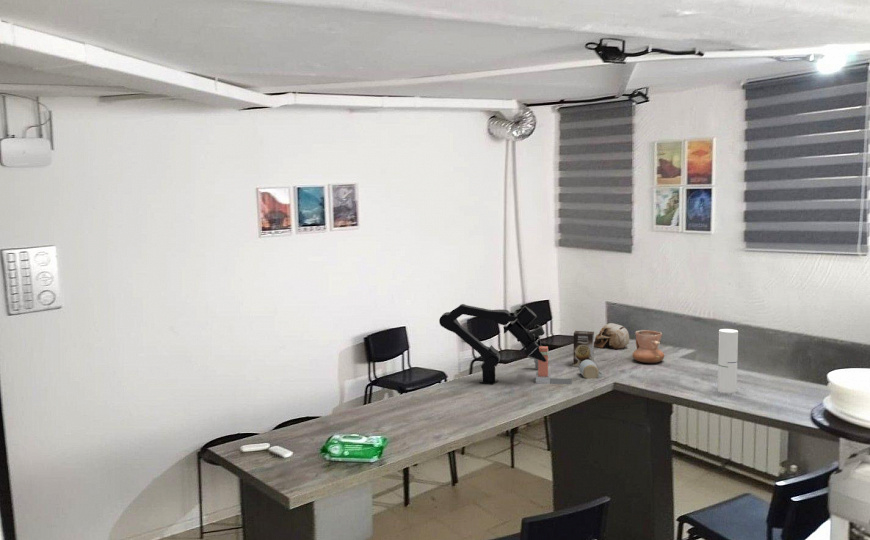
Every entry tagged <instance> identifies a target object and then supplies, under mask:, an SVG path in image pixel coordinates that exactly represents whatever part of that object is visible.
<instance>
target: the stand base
mask: <svg viewBox="0 0 870 540" xmlns="http://www.w3.org/2000/svg"><path fill="white" fill-rule="evenodd" d="M551 374H552V372H551V371H548V376H538V371H536V373H535V377H534V380H533V384H545V385H547V384H548V385H549V384H550V385H572V379H573V378H552V377H551Z"/></svg>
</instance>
